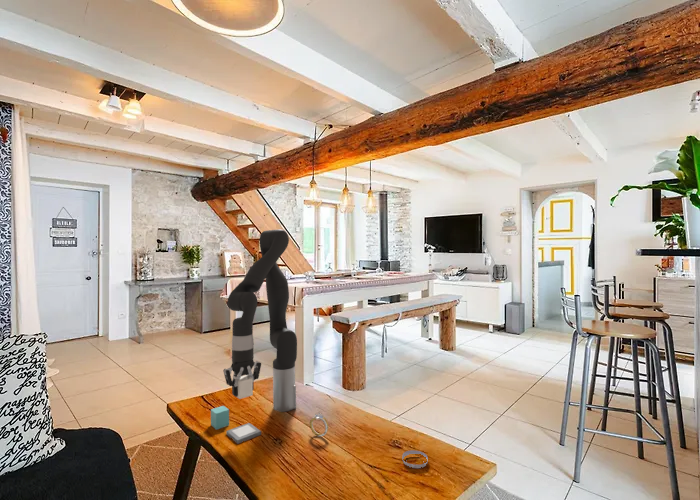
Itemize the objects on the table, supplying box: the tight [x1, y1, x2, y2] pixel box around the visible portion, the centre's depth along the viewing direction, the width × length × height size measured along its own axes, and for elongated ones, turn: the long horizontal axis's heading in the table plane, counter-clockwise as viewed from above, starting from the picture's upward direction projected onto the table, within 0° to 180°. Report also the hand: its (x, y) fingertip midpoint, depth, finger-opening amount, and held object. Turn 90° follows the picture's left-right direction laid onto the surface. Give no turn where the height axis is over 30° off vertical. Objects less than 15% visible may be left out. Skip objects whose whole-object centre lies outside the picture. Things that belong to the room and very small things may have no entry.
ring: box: [309, 412, 329, 438], centre depth 128 cm, size 7×3×8 cm, turn 61°
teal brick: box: [210, 405, 230, 430], centre depth 137 cm, size 5×5×6 cm
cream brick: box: [236, 375, 254, 400], centre depth 130 cm, size 5×5×6 cm
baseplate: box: [225, 422, 262, 445], centre depth 130 cm, size 9×9×1 cm
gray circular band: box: [401, 449, 429, 469], centre depth 112 cm, size 8×8×2 cm
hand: (242, 393), depth 130 cm, fingers closed on cream brick, 5 cm apart
